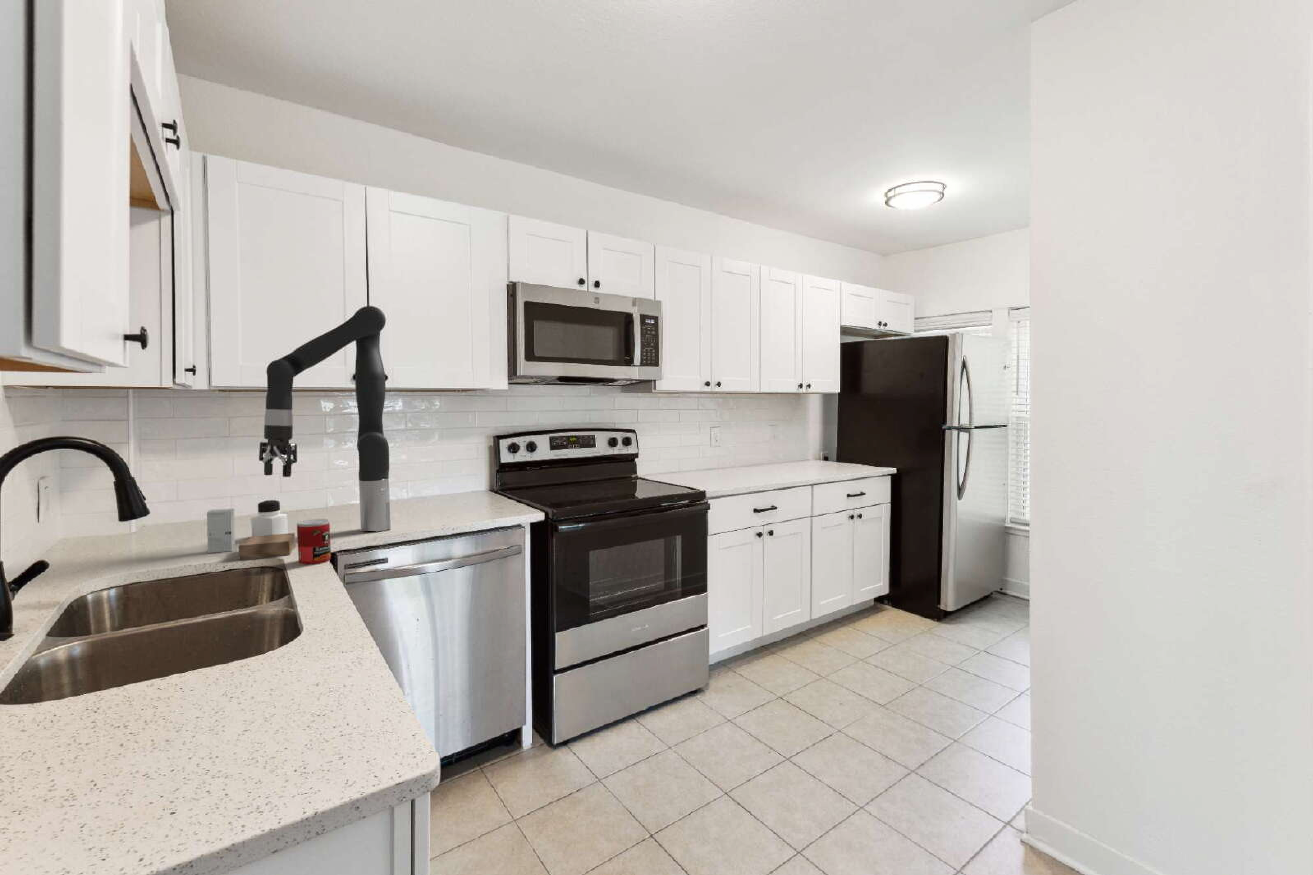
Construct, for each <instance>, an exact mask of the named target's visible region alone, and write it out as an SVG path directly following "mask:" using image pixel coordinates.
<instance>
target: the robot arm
mask: <svg viewBox="0 0 1313 875" xmlns="http://www.w3.org/2000/svg"><path fill="white" fill-rule="evenodd" d="M386 320H387V319H386V315H385V313H384V312H383V310H381V308H378V307H377V306H374V305H366V306H362V307H361V308H359V309H358V310H356V311H355V313H354V314H353V315H352V316H351V317H350V318H349V319H347V320H346V321H344V322H343V323H342V324H340V325H338V326H335V328H333V329H330V330H328V331H327V332H325V333H322V334H321V335H318V336H317V337H315V338H313V339H311V340H308V342H305V343H304V344H302V345H300V346H298V347H297V348H296V349H294V350H293V351H291V352H290V353H288V354H286V355H284V356H282V357H280V358H278V359H275V360H272V361H271V362H270V363H269V364H268V365H267V368H266V373H265V374H266V379H267V381H266V382H267V392H266V397H265V411H264V413H265V414H264V422H263V423H264V424H263V425H264V426H263V430H264V431H263V439H265V440H267V441H261V442H259V454H258V461H260V462H262V464H263V473H264V474H263V475H264V476H272V475H273V470H274V467H273V465H274V463H273V462H274V461H275V459H276V458H278V460H280V461H281V462H282V478H290V477H291V476H292V466H293V464H296V463H297V462H298V444H297V443H290V440H292V439H293V430H294V429H293V428H294V427H293V426H294V425H293V424H294V415H293V386H294V378H295V377H297V376H298V375H299V374H301V373H303V372H304V371H306V370H308V369H310V368H312V367H315V366H316V365H318V364H319V363H321V362H323V361H325V360H326V359H328V358H329V357H332V356H333V355H334V354H335V353H338V352H339V351H340V350H341V349H343V348H345V347H347V346H348V345H349V344H352V343H353V342H355V349H356V351H355V352H356V354H355V370H354V372H355V373H354V379H355V382H354V384H355V386H354V387H355V397H356V408H357V414H358V428H357V429H358V433H357V441H356V448H357V452H358V490H359V491H358V492H359V515H360V516H359V517H360V521H359V522H360V525H359V526H360V531H361V532H363V531H376V532H383V531H388V530H389V529H390V530H392V528H391V504H390V502H391V501H390V482H389V480H390V478H389V477H390V476H389V475H390V446H389V442H388V440H387V438H386V436H385V434H384V425H383V414H384V413H383V412H384V407H385V400H386V388H387V387H386V374H385V369H384V363H383V360H382V356H381V348H380V347H381V346H380V345H381V344H380V343H381V342H380V341H381V332H382V330H383V329H384V328H385V326H386V322H387V321H386Z"/></svg>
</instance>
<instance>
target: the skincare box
mask: <svg viewBox="0 0 1313 875" xmlns="http://www.w3.org/2000/svg"><path fill="white" fill-rule="evenodd" d="M206 527H207V528H206V531H207V532H206V535H207V536H206V537H207V554H211V553H223V552H232V551H233V550H234V549H235V548H236V541H235V539H236V538H235V537H236V536H235V535H236V534H235V531H236V530H235V509H234V508H222V509H209V511H207V512H206Z"/></svg>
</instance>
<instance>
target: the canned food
mask: <svg viewBox="0 0 1313 875" xmlns="http://www.w3.org/2000/svg"><path fill="white" fill-rule="evenodd" d="M296 534H297V535H296V536H297V538H296V539H297V555H298V557H297V558H298V562H299V564H302V565H309V566H310V565H317V564H318V565H319V564H324V563H326V562H328V561H330V560H331V557H332V550H331V547H332V546H331V526H330V520H329V519H326V518H312V519H305V520H300V521H298V522H296Z"/></svg>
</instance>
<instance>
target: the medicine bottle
mask: <svg viewBox="0 0 1313 875" xmlns="http://www.w3.org/2000/svg"><path fill="white" fill-rule="evenodd" d="M250 521H251V525H250V526H251V537H252V536H264V535H276V534H288V533H289V532H288V529H289V528H288V514H286V513H281V503H280V500H276V499H273V500H272V499H268V500H262V501H260V502H258V503H257V516H253V517H251V518H250Z"/></svg>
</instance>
